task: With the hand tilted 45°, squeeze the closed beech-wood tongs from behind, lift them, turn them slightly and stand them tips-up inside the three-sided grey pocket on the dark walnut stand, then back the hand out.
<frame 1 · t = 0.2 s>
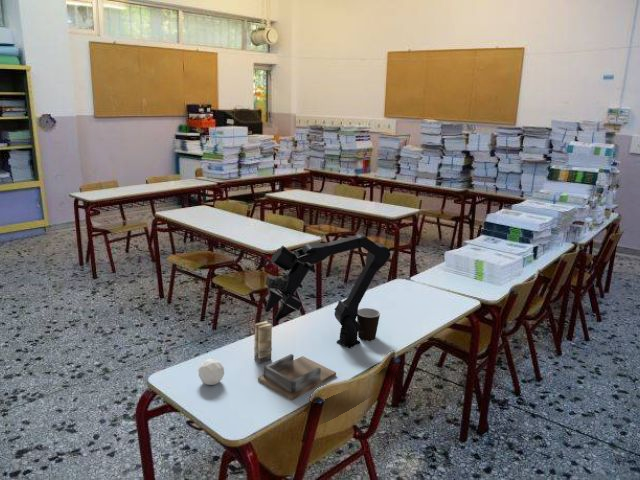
hand: (270, 316, 174), 14 cm above the table, tool tilted 35°, fingers open, 9 cm apart
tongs: (262, 359, 173), on the table
ball: (211, 383, 158), on the table
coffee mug: (367, 336, 194), on the table
walnut stand: (297, 378, 162), on the table
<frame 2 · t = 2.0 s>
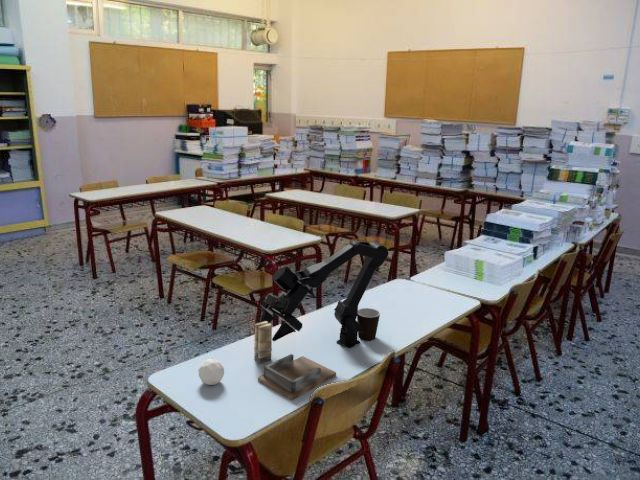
hand: (265, 335, 171), 9 cm above the table, tool tilted 45°, fingers open, 9 cm apart
nothing on the table moved.
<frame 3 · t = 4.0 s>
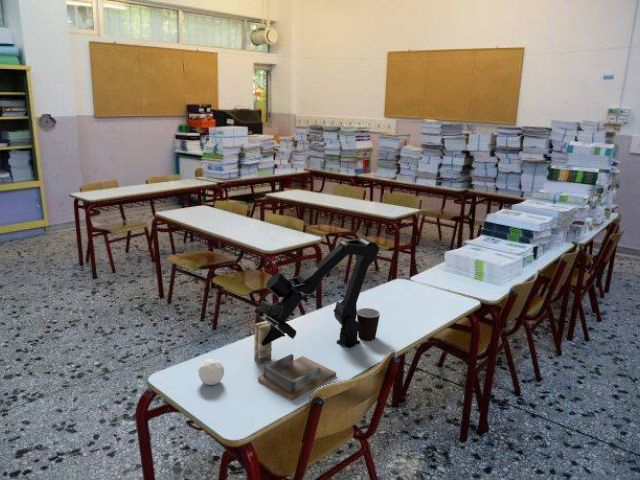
hand: (259, 343, 170), 7 cm above the table, tool tilted 45°, fingers closed on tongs, 3 cm apart
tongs: (262, 359, 173), on the table, touching gripper
everything else where it was.
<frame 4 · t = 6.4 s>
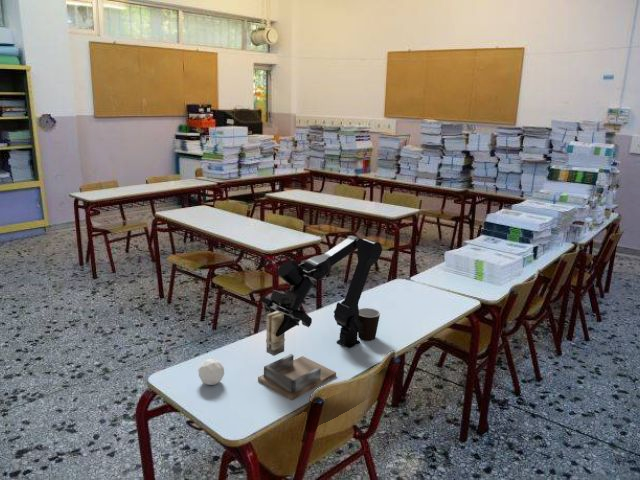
hand: (272, 334, 162), 13 cm above the table, tool tilted 45°, fingers closed on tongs, 3 cm apart
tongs: (275, 351, 164), point 7 cm above the table, touching gripper
everything else where it was.
when the fingers open (9 cm above the table, at t = 9.0 s): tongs drops 1 cm, resting on walnut stand.
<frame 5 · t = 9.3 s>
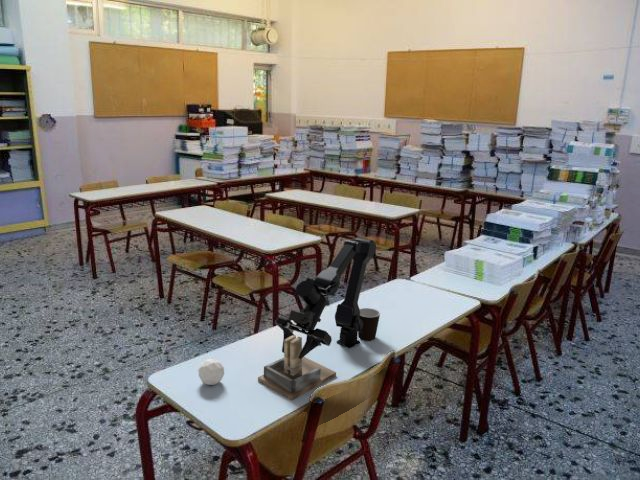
hand: (291, 355, 157), 9 cm above the table, tool tilted 45°, fingers open, 6 cm apart
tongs: (293, 376, 160), point 1 cm above the table, touching walnut stand
everything else where it was.
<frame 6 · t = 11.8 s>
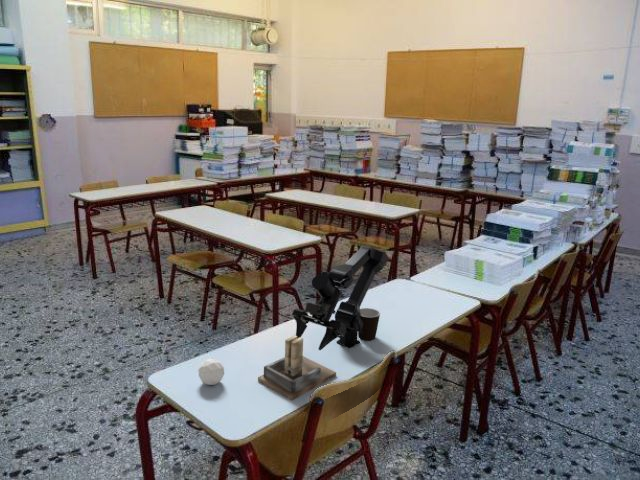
hand: (307, 345, 164), 9 cm above the table, tool tilted 45°, fingers open, 9 cm apart
nothing on the table moved.
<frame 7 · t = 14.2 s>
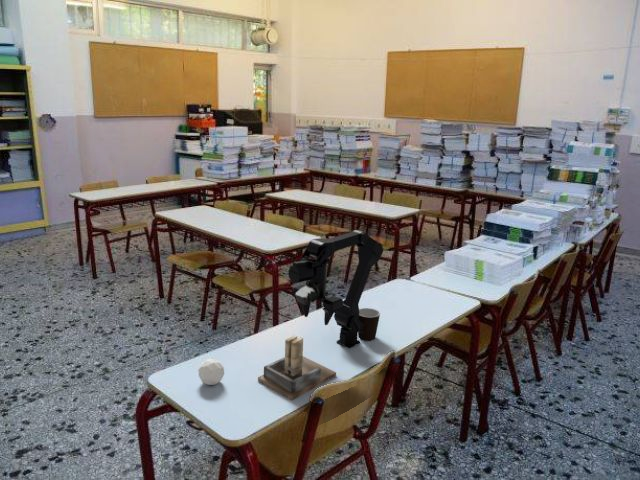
hand: (316, 320, 174), 13 cm above the table, tool pointing down, fingers open, 9 cm apart
nothing on the table moved.
at the end: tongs inside the target area on the walnut stand (0.1 cm from its centre), point 1.2 cm above the walnut stand's base; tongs tilted 0°; the gripper is holding nothing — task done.
